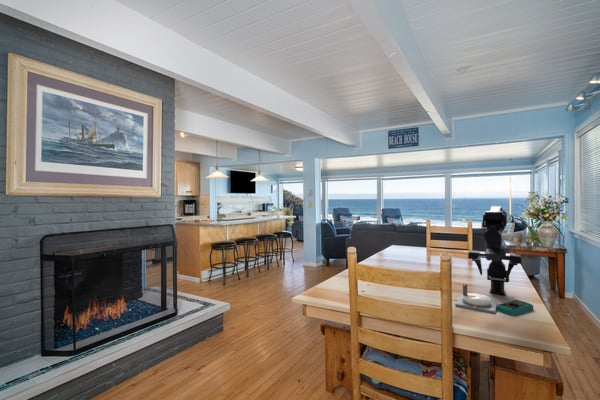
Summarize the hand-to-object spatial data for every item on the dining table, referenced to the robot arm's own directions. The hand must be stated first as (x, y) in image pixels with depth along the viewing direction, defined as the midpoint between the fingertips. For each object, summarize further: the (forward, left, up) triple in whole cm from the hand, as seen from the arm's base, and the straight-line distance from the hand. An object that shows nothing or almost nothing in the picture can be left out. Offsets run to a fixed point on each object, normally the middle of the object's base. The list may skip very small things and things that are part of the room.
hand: (494, 276), depth 125 cm
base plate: (-4, -7, -15) cm, 17 cm away
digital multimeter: (-6, +7, -15) cm, 18 cm away
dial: (-4, -7, -13) cm, 16 cm away
